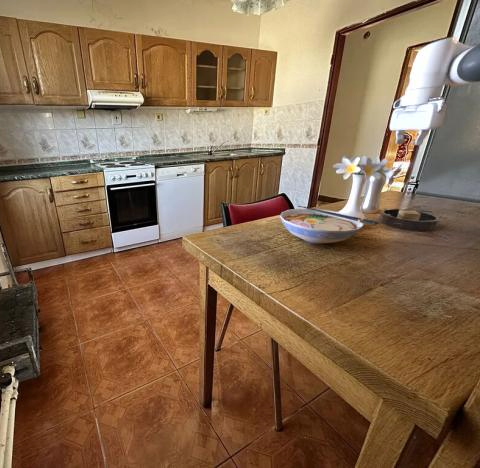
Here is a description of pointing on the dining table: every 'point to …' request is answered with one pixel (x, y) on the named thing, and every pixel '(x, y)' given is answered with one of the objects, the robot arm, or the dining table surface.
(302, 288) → the dining table surface
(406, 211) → the block
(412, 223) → the pan
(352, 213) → the flower vase
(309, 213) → the ramen bowl
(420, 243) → the dining table surface
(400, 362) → the dining table surface
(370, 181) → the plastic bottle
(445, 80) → the robot arm
